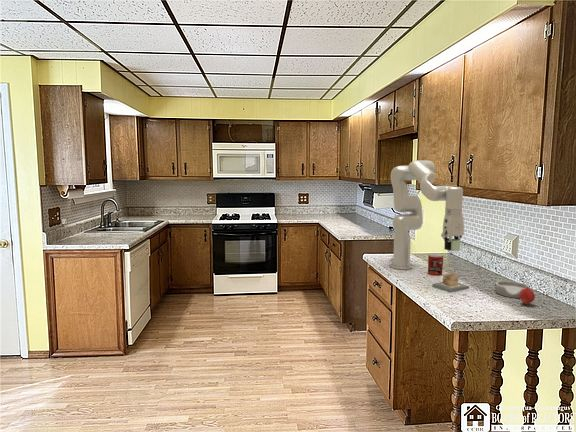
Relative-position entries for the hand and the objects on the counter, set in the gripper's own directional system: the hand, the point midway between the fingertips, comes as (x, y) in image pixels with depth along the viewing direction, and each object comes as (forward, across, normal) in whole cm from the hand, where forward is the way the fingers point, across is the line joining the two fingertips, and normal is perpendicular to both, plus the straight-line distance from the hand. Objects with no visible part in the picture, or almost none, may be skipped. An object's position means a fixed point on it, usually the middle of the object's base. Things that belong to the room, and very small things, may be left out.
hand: (451, 248), depth 194 cm
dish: (+20, +17, -20) cm, 33 cm away
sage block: (+1, 0, 0) cm, 1 cm away
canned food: (+20, +13, +22) cm, 32 cm away
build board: (+19, 0, 0) cm, 19 cm away
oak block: (+18, 0, 0) cm, 18 cm away
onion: (+20, +9, -32) cm, 39 cm away
